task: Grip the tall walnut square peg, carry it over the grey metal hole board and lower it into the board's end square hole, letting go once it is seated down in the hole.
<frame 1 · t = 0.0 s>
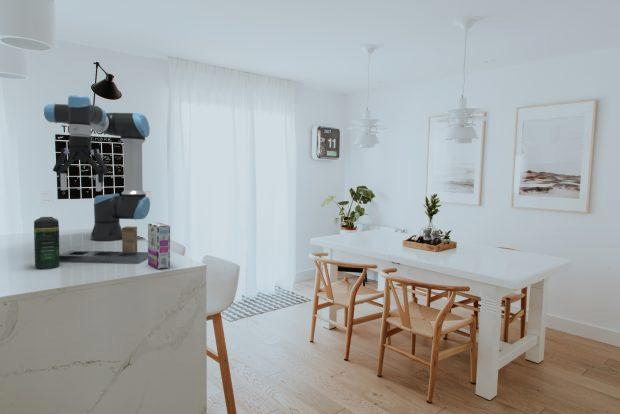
hand: (81, 190, 161), 28 cm above the table, fingers open, 13 cm apart
candy bar box: (158, 266, 157), on the table
grey metal hole board: (103, 259, 165), on the table
walnut peg: (129, 254, 176), on the table
coffee jar: (47, 266, 153), on the table
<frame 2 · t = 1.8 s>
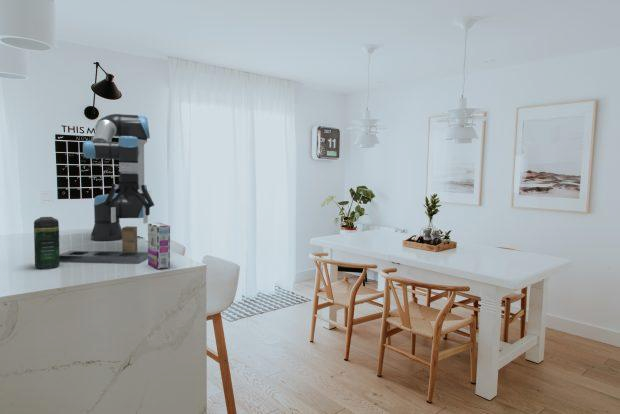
hand: (129, 222, 174), 14 cm above the table, fingers open, 13 cm apart
nothing on the table moved.
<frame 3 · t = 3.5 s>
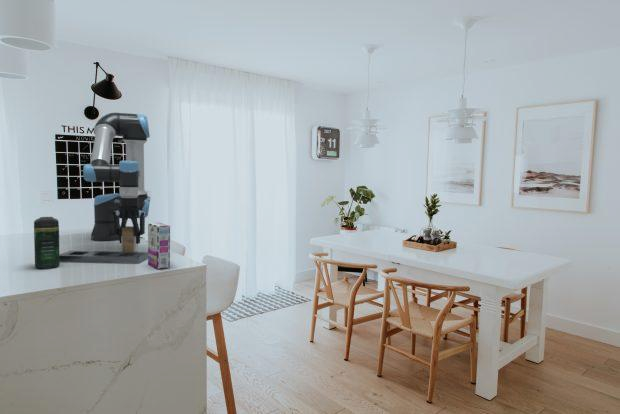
hand: (129, 250, 176), 2 cm above the table, fingers closed on walnut peg, 4 cm apart
walnut peg: (129, 254, 176), on the table, touching gripper
everything else where it was.
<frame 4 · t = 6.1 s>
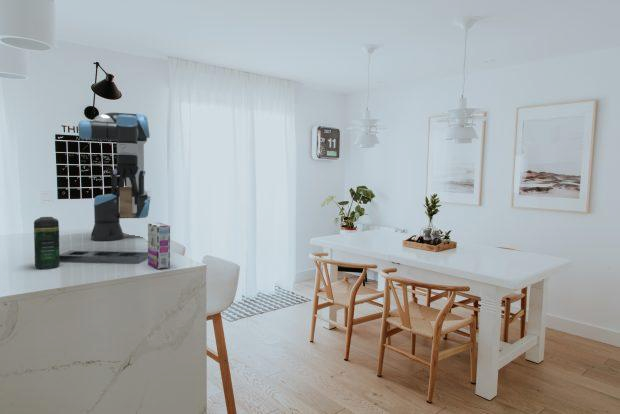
hand: (128, 212, 164), 19 cm above the table, fingers closed on walnut peg, 4 cm apart
walnut peg: (128, 216, 164), point 18 cm above the table, touching gripper
everything else where it was.
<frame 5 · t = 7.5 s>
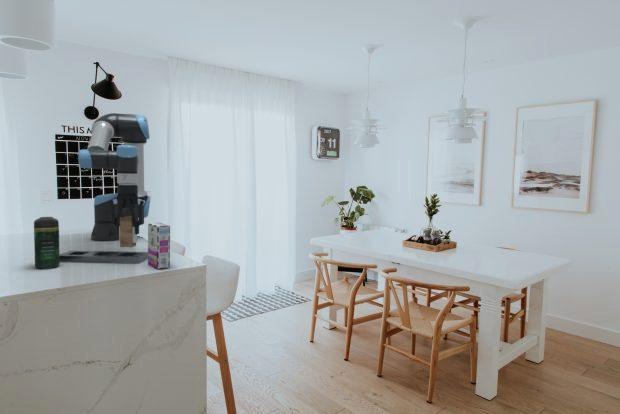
hand: (128, 242, 164), 8 cm above the table, fingers closed on walnut peg, 4 cm apart
walnut peg: (128, 246, 164), point 6 cm above the table, touching gripper
everything else where it was.
when the fingers open (3 cm above the table, at t = 8.7 s): walnut peg drops 1 cm, resting in grey metal hole board.
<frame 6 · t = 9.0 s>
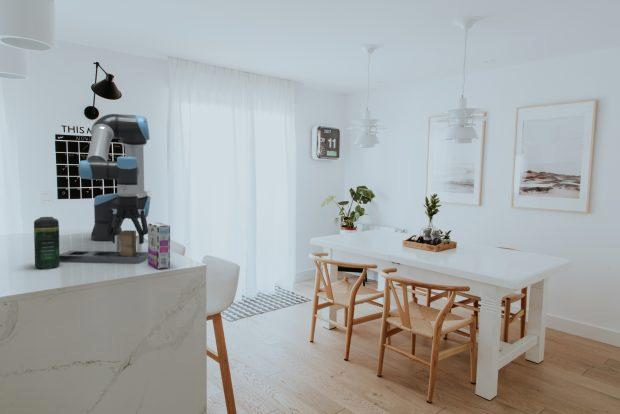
hand: (128, 251, 165), 4 cm above the table, fingers open, 8 cm apart
walnut peg: (128, 260, 165), resting in grey metal hole board
everything else where it was.
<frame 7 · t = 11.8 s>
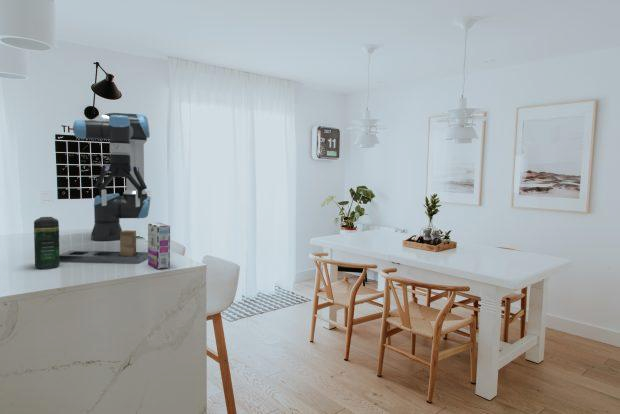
hand: (121, 206, 167), 22 cm above the table, fingers open, 13 cm apart
nothing on the table moved.
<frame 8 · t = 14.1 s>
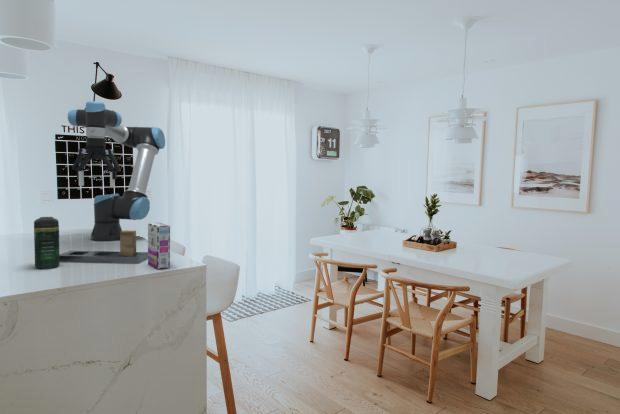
hand: (97, 186, 180), 29 cm above the table, fingers open, 13 cm apart
nothing on the table moved.
at the end: walnut peg 0.0 cm from the target spot on the grey metal hole board, point 0.0 cm above the grey metal hole board's base; walnut peg tilted 0°; the gripper is holding nothing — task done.
